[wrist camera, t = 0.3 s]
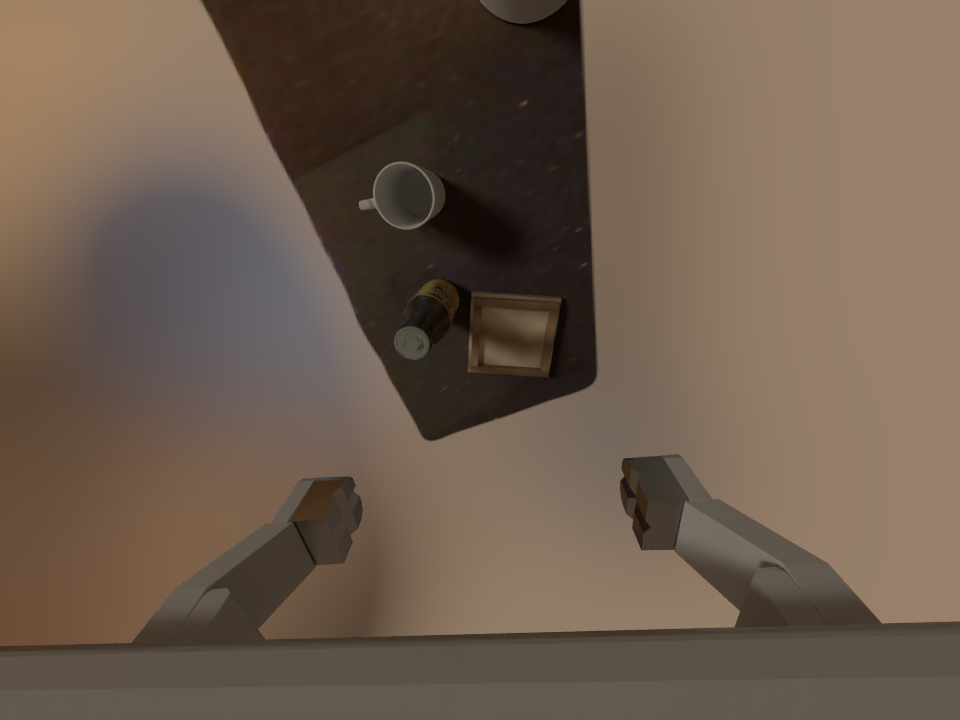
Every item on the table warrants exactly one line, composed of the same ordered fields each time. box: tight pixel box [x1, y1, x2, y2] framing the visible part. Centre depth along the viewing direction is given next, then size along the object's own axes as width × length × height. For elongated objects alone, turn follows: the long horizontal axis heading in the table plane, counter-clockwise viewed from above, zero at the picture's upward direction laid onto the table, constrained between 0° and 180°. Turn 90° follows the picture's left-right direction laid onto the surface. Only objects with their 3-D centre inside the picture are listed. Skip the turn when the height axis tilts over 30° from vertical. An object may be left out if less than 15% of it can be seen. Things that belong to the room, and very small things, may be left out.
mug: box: [359, 162, 445, 230], centre depth 43 cm, size 10×7×12 cm, turn 100°
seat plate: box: [468, 291, 561, 377], centre depth 57 cm, size 14×14×2 cm
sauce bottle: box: [394, 279, 459, 360], centre depth 46 cm, size 7×6×20 cm
